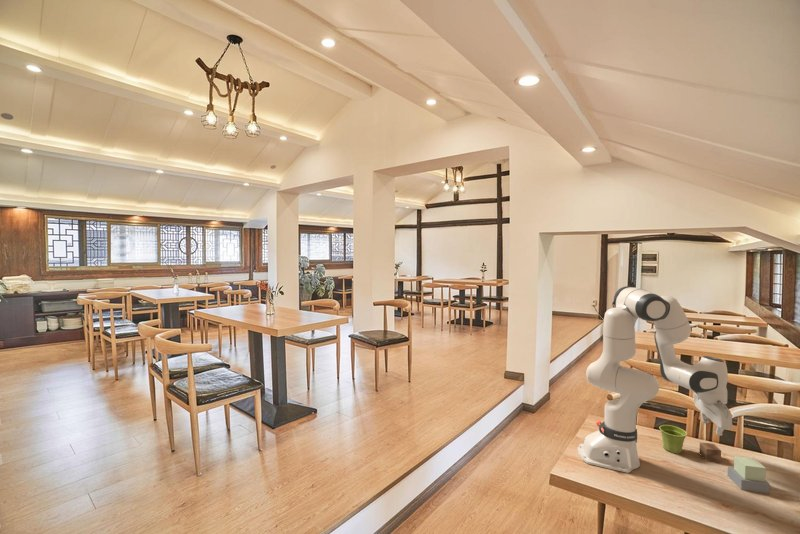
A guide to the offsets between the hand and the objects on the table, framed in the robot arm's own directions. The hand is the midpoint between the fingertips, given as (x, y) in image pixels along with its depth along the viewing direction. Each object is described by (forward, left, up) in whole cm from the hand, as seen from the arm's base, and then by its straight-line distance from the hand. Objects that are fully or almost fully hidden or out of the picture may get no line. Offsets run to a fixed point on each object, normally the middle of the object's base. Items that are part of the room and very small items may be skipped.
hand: (711, 428), depth 145 cm
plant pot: (-13, +3, -13) cm, 18 cm away
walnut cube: (-1, 0, -13) cm, 13 cm away
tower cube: (+4, -16, -9) cm, 19 cm away
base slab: (+3, -16, -13) cm, 21 cm away
